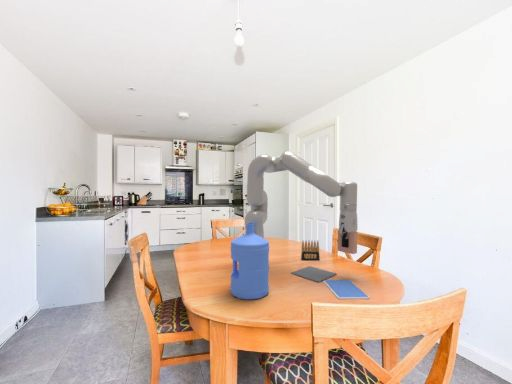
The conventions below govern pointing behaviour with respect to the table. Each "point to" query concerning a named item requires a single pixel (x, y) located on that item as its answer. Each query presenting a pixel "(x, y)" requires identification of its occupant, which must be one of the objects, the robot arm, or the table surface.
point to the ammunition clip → (314, 252)
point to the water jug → (250, 265)
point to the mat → (314, 274)
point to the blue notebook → (345, 289)
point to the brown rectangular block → (352, 243)
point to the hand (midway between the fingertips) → (347, 246)
